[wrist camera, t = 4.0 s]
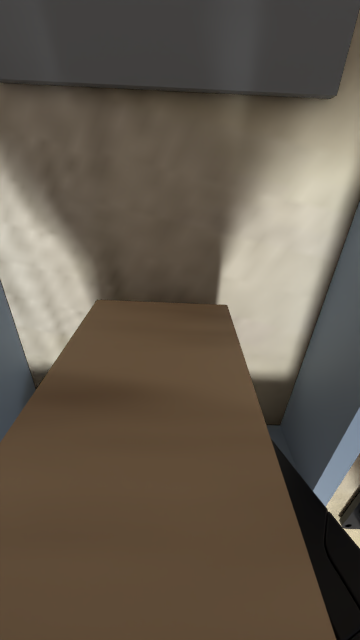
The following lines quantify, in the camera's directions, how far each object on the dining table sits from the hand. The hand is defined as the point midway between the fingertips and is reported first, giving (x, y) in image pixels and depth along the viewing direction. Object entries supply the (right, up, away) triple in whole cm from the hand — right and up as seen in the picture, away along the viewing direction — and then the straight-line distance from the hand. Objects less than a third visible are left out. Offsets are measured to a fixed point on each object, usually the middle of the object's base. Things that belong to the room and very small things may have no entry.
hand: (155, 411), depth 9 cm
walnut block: (0, +2, +3) cm, 3 cm away
